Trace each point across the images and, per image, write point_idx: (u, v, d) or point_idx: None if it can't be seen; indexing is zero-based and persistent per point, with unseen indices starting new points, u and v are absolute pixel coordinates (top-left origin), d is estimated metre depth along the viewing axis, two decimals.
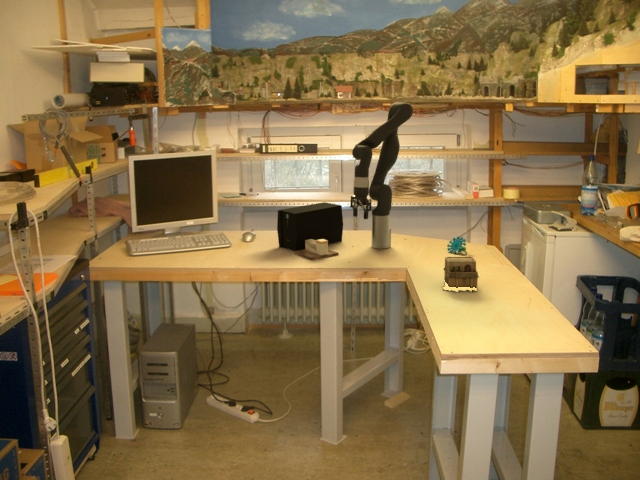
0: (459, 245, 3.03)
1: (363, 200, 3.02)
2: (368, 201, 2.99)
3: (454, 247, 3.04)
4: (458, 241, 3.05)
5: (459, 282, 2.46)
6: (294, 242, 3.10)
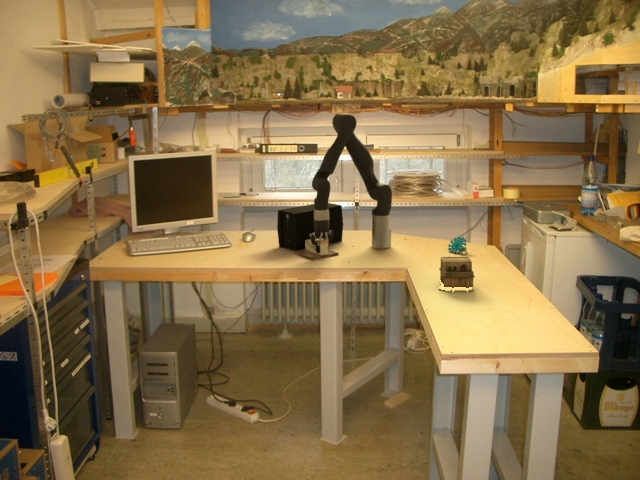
0: (460, 245, 3.03)
1: (328, 232, 3.00)
2: None
3: (455, 247, 3.04)
4: (459, 241, 3.05)
5: (454, 282, 2.46)
6: (294, 242, 3.10)
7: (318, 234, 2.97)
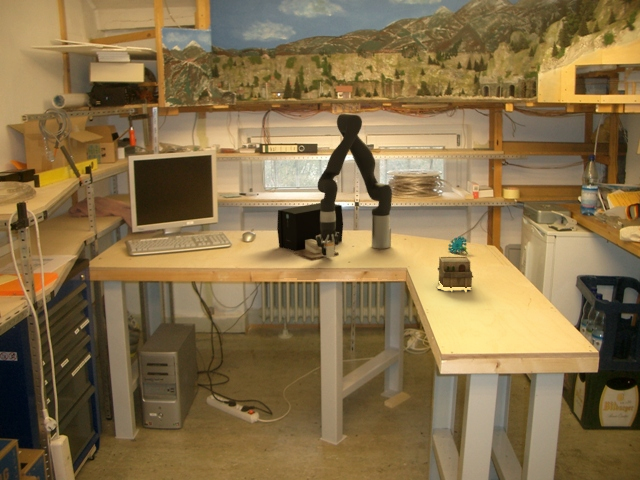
0: (460, 245, 3.03)
1: (334, 234, 2.96)
2: None
3: (455, 247, 3.04)
4: (459, 241, 3.05)
5: (453, 282, 2.46)
6: (294, 242, 3.10)
7: (324, 236, 2.92)
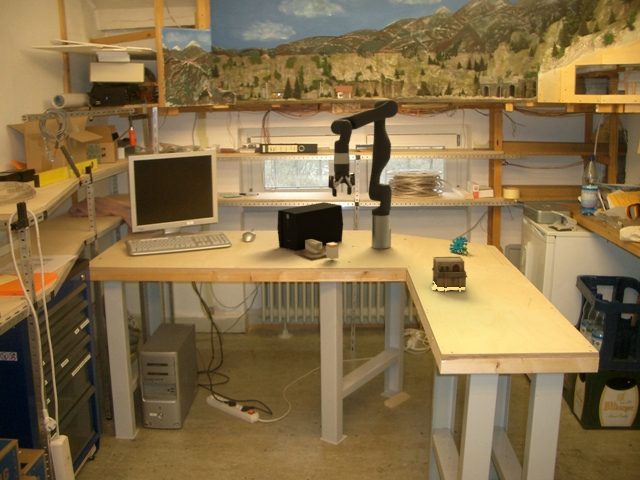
0: (461, 245, 3.03)
1: (348, 176, 2.94)
2: None
3: (456, 247, 3.04)
4: (460, 241, 3.05)
5: (447, 282, 2.46)
6: (295, 242, 3.10)
7: (338, 177, 2.91)
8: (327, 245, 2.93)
